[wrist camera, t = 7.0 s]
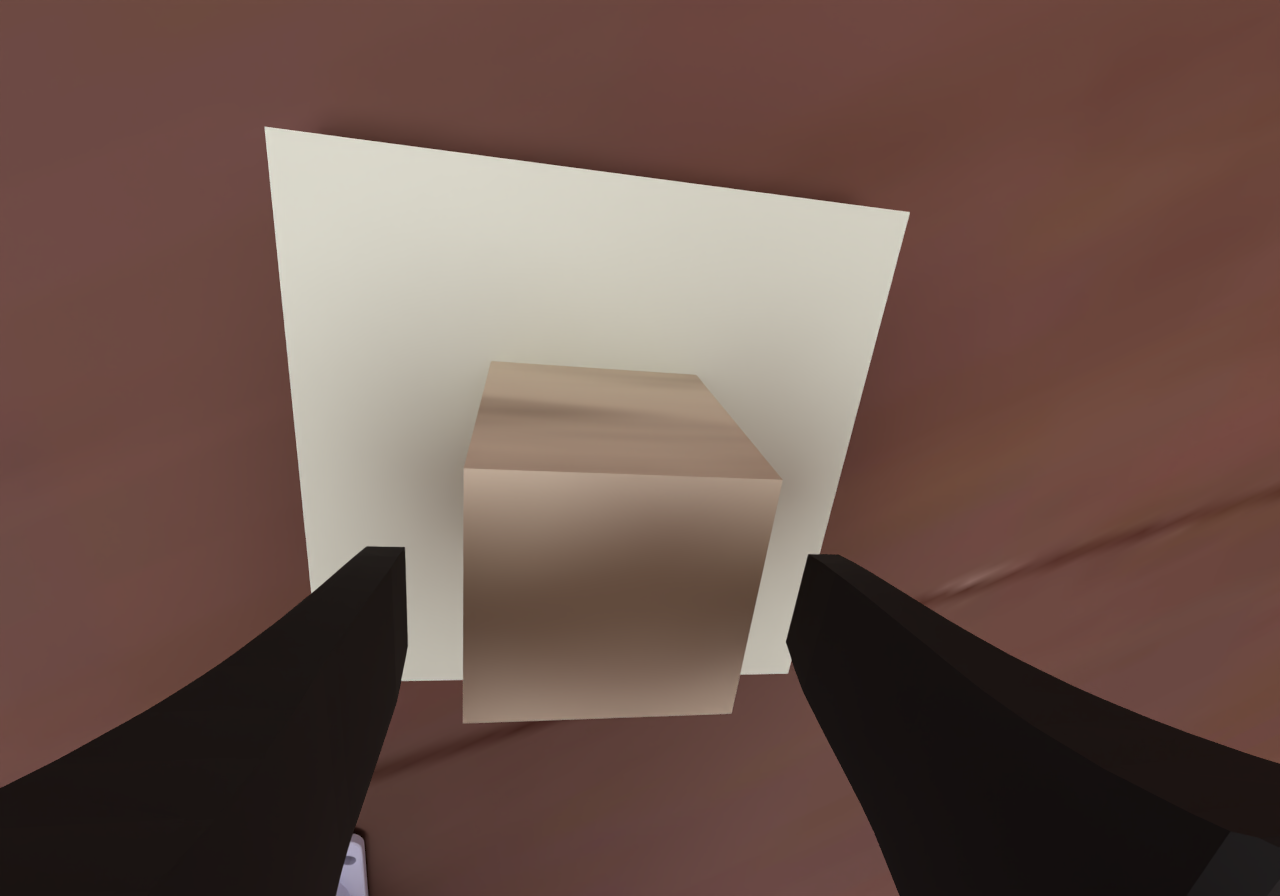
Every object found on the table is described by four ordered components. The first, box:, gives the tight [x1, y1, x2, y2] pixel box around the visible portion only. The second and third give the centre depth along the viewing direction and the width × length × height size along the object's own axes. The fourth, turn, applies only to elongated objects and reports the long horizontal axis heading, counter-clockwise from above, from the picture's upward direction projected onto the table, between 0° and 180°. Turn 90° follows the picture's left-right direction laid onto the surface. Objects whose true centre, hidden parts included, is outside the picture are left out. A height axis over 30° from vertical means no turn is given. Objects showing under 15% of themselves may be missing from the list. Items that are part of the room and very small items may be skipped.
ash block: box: [463, 361, 783, 723], centre depth 13 cm, size 5×5×6 cm
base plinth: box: [265, 127, 910, 681], centre depth 17 cm, size 14×14×3 cm
